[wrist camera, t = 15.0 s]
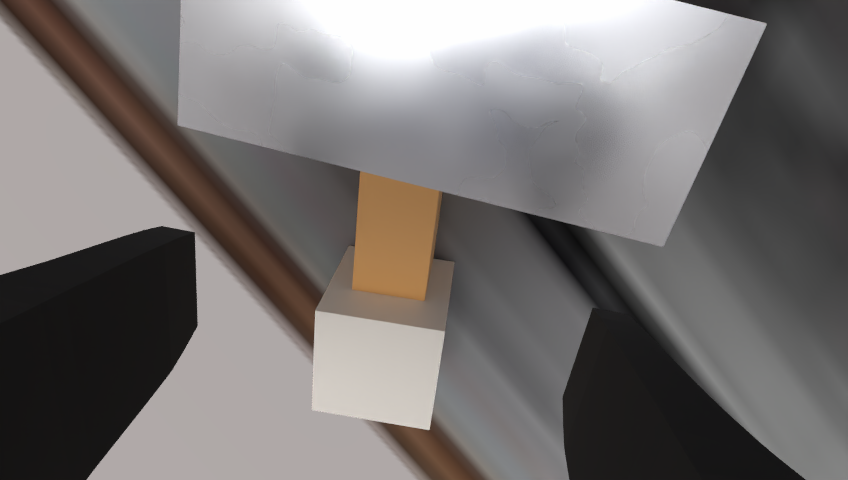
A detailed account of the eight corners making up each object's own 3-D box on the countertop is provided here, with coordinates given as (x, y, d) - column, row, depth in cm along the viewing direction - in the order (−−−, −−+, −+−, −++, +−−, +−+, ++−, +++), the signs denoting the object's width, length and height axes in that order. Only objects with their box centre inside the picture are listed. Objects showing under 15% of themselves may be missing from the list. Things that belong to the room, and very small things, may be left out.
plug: (513, -114, 16) (519, -138, 12) (437, 372, 24) (425, 456, 20) (372, -131, 16) (332, -160, 12) (341, 356, 24) (310, 436, 20)
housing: (675, 1, 17) (767, 23, 11) (613, 160, 19) (662, 246, 13) (289, -96, 17) (184, -123, 11) (272, 75, 19) (177, 125, 13)
